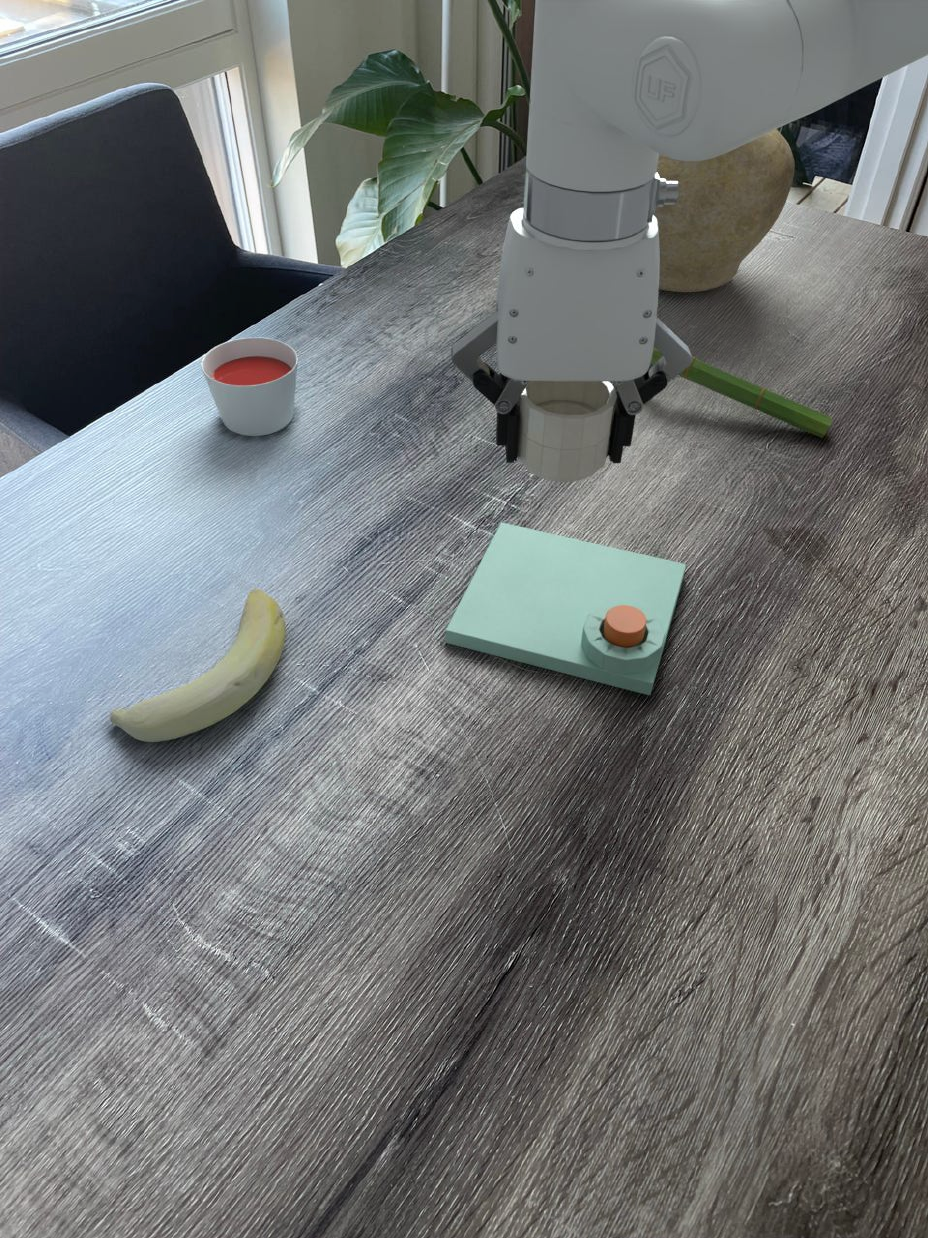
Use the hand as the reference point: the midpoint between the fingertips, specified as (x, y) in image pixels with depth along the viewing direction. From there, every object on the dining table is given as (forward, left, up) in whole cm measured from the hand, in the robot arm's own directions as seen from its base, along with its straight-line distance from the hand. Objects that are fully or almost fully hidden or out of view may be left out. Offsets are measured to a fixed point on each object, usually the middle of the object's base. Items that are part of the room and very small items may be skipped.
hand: (561, 450), depth 71 cm
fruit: (+21, +17, -14) cm, 30 cm away
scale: (-2, +1, -14) cm, 14 cm away
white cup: (0, 0, -1) cm, 1 cm away
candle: (+34, -15, -14) cm, 40 cm away
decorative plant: (-5, -33, -14) cm, 36 cm away
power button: (-7, +5, -11) cm, 14 cm away
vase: (+1, -61, -14) cm, 63 cm away
